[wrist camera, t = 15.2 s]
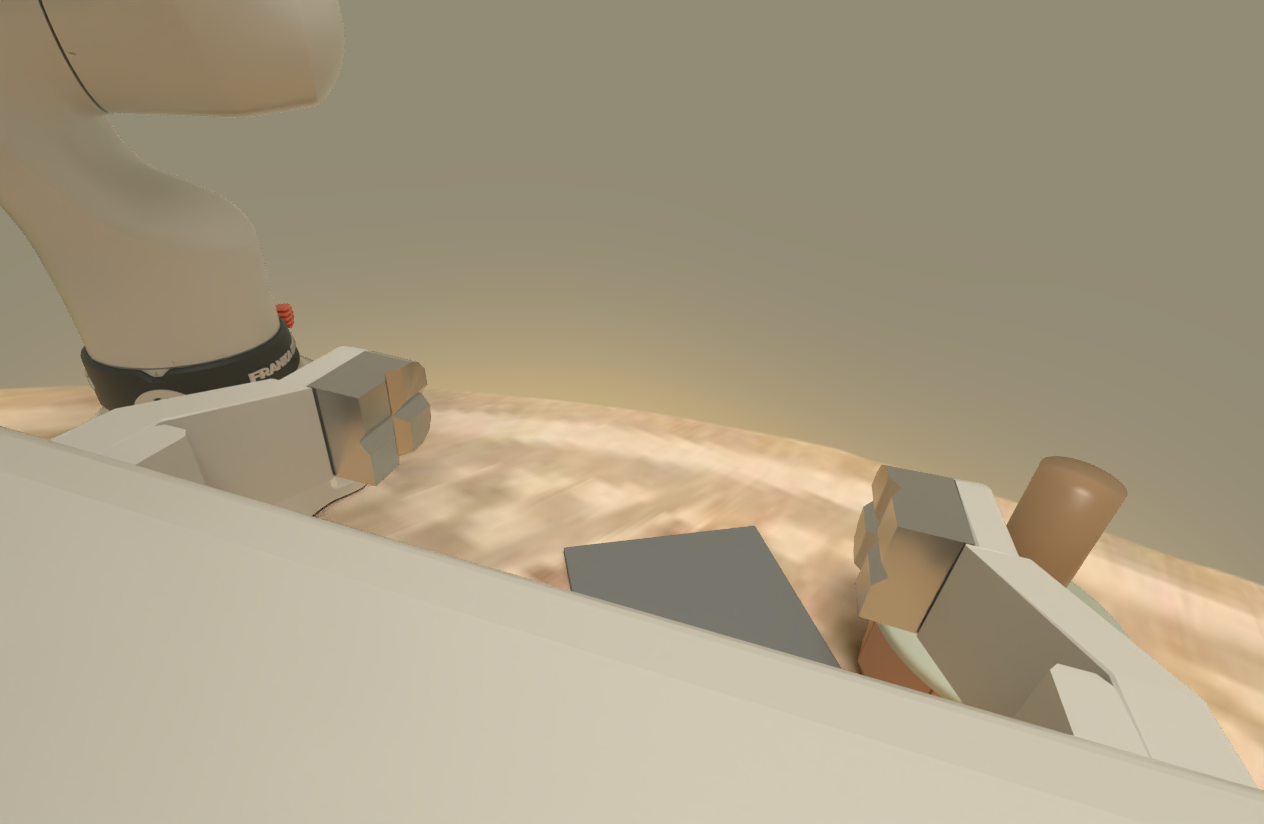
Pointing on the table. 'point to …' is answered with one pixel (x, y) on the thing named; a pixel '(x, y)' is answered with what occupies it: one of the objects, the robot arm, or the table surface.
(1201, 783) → the robot arm
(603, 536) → the table surface
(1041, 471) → the lid
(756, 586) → the mat
